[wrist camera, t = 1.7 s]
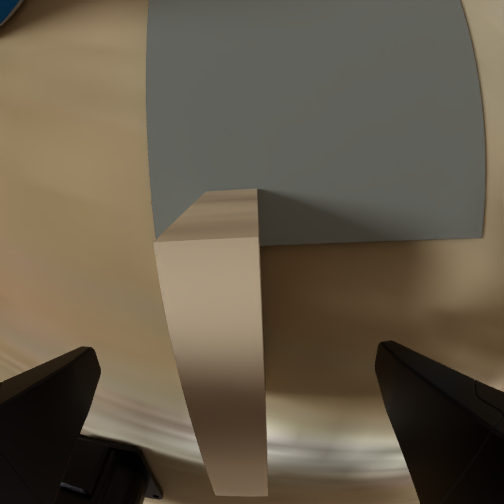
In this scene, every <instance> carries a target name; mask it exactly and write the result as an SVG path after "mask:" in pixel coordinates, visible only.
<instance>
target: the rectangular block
mask: <svg viewBox="0 0 504 504" xmlns="http://www.w3.org/2000/svg"><path fill="white" fill-rule="evenodd" d="M153 244H154V251H155V257H156V263H157V270H158V276H159V281H160V287H161V293H162V298H163V304H164V309H165V314H166V319H167V324H168V329H169V333H170V338H171V343H172V347H173V352H174V356H175V360H176V365H177V369H178V373H179V377H180V381H181V385H182V389H183V393H184V396H185V400H186V404H187V408H188V411H189V415H190V418H191V422H192V425H193V429H194V432H195V436H196V439H197V442H198V445H199V449H200V452H201V455H202V458H203V461H204V464H205V467H206V470H207V473H208V476H209V479H210V482H211V485H212V488H213V490H214V493H215V496H268V470H267V431H266V396H265V367H264V340H263V314H262V290H261V266H260V243H259V220H258V199H257V189H239V190H222V191H206V192H205V193H204V194H203V195H202V196H201V197H200V198H198V199H197V200H196V201H195V202H194V203H193V204H192V205H191V206H190V207H189V208H188V209H187V210H186V211H185V212H184V213H183V214H182V215H180V216H179V217H178V218H177V219H176V220H175V221H174V222H173V223H172V224H171V225H170V226H169V227H168V228H167V229H166V230H165V231H164V232H163V233H162V234H161V235H160V236H159V237H158V238H157V239H156V240H155V241H154V242H153Z"/></svg>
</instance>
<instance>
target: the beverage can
mask: <svg viewBox="0 0 504 504" xmlns="http://www.w3.org/2000/svg"><path fill="white" fill-rule="evenodd" d="M22 2H23V0H0V27H1V26H2V25H3V24H4V23H5V22H6V21H7V20H8V19H9V18H10V17H11V16H12V15H13V14H14V12H15V11H16V10H17V9H18V7H19V6H20V5H21V3H22Z"/></svg>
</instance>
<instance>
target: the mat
mask: <svg viewBox="0 0 504 504" xmlns="http://www.w3.org/2000/svg"><path fill="white" fill-rule="evenodd" d="M146 112H147V139H148V158H149V173H150V186H151V198H152V209H153V219H154V228H155V237H156V239H157V238H158V237H159V236H160V235H161V234H162V233H163V232H164V231H165V230H166V229H167V228H168V227H169V226H170V225H171V224H172V223H173V222H174V221H175V220H176V219H177V218H178V217H179V216H180V215H182V214H183V213H184V212H185V211H186V210H187V209H188V208H189V207H190V206H191V205H192V204H193V203H194V202H195V201H196V200H197V199H198V198H200V197H201V196H202V195H203V194H204V193H205V192H206V191H222V190H239V189H257V199H258V220H259V243H260V246H274V245H298V244H323V243H348V242H374V241H401V240H429V239H458V238H482V229H483V218H484V203H485V137H484V122H483V111H482V101H481V93H480V86H479V79H478V73H477V67H476V62H475V57H474V52H473V47H472V42H471V38H470V34H469V30H468V26H467V22H466V19H465V15H464V12H463V8H462V5H461V2H460V0H149V8H148V25H147V51H146Z"/></svg>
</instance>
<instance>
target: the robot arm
mask: <svg viewBox="0 0 504 504" xmlns="http://www.w3.org/2000/svg"><path fill="white" fill-rule="evenodd" d="M375 372H376V375H377V379H378V383H379V386H380V390H381V394H382V397H383V401H384V405H385V408H386V411H387V414H388V417H389V419H390V422H391V424H392V427H393V429H394V432H395V434H396V437H397V440H398V442H399V445H400V448H401V450H402V453H403V456H404V458H405V461H406V464H407V467H408V469H409V472H410V475H411V478H412V481H413V484H414V486H415V489H416V492H417V495H418V498H419V501H420V504H504V392H502V391H500V390H497V389H495V388H493V387H490V386H488V385H486V384H483V383H481V382H479V381H477V380H475V381H474V379H473V378H470V377H468V376H466V375H464V374H462V373H460V372H457V371H455V370H453V369H451V368H449V367H447V366H445V365H443V364H440V363H438V362H436V361H434V360H432V359H430V358H428V357H426V356H424V355H421V354H419V353H417V352H415V351H413V350H411V349H409V348H407V347H405V346H403V345H401V344H399V343H396V342H394V341H392V340H390V341H383V342H380V343H379V345H378V349H377V355H376V361H375ZM100 374H101V368H100V365H99V362H98V359H97V356H96V353H95V350H94V349H93V348H92V347H84V346H82V347H79V348H77V349H75V350H73V351H70V352H68V353H66V354H64V355H62V356H59V357H57V358H55V359H53V360H50V361H48V362H46V363H44V364H41V365H39V366H37V367H35V368H32V369H30V370H28V371H25V372H23V373H21V374H19V375H16V376H14V377H12V378H9V379H7V380H5V381H3V383H2V382H0V504H143V501H144V498H145V497H147V498H153V499H162V498H163V492H162V490H161V488H160V486H159V485H158V483H157V481H156V479H155V477H154V475H153V473H152V471H151V469H150V467H149V465H148V463H147V461H146V459H145V457H144V455H143V453H142V451H141V450H140V449H138V448H136V447H132V446H126V445H121V444H115V443H110V442H105V441H100V440H96V439H91V438H87V437H82V436H79V434H80V432H81V430H82V427H83V425H84V422H85V420H86V417H87V415H88V412H89V410H90V407H91V404H92V400H93V397H94V394H95V390H96V387H97V384H98V381H99V378H100Z"/></svg>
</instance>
